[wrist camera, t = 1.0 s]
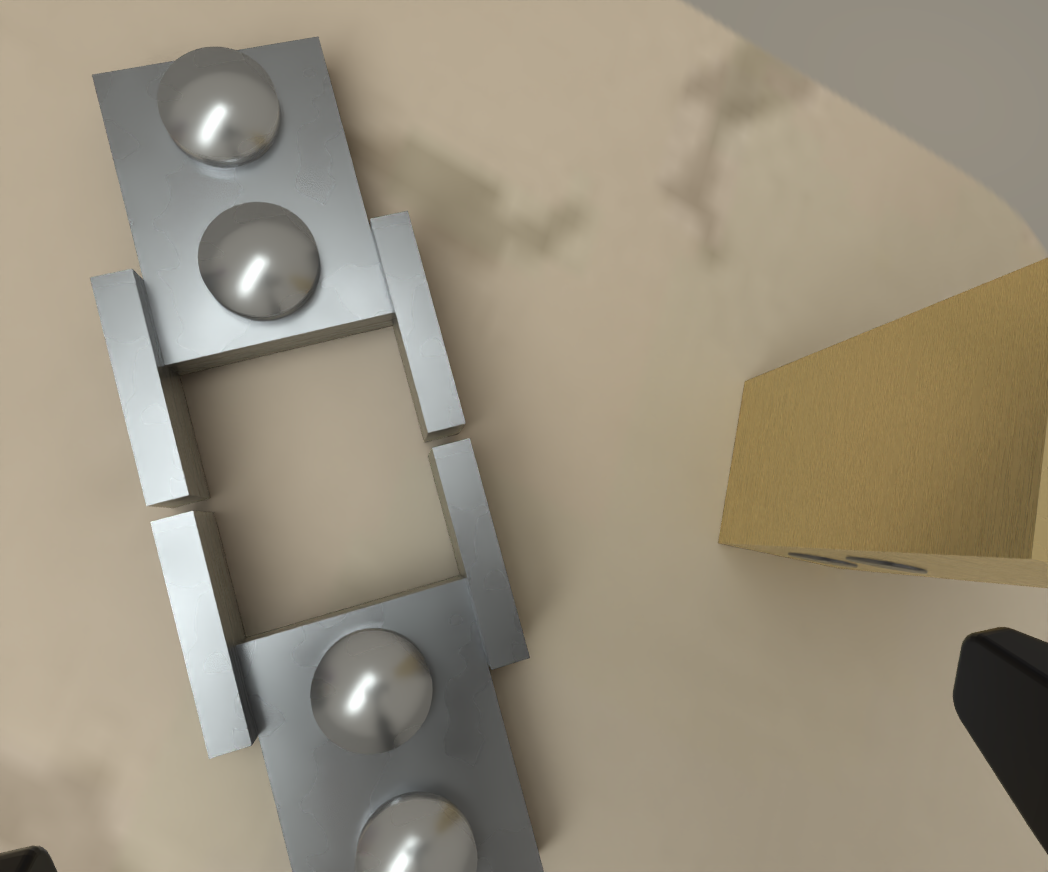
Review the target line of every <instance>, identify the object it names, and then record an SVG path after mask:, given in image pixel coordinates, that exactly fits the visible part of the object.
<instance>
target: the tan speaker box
mask: <svg viewBox="0 0 1048 872" xmlns="http://www.w3.org/2000/svg"><path fill="white" fill-rule="evenodd" d="M718 543H720V544H725V545H730V546H735V547H740V548H744V549H749V550H754V551H759V552H764V553H768V554H773V555H778V556H783V557H788V558H792V559H797V560H802V561H807V562H812V563H817V564H821V565H826V566H831V567H836V568H841V569H850V570H861V571H871V572H882V573H892V574H903V575H914V576H924V577H935V578H945V579H956V580H967V581H977V582H988V583H998V584H1009V585H1020V586H1030V587H1041V588H1048V258H1046V259H1043V260H1041V261H1039V262H1036V263H1034V264H1031V265H1029V266H1026V267H1024V268H1021V269H1019V270H1017V271H1014V272H1012V273H1009V274H1007V275H1004V276H1002V277H999V278H997V279H994V280H992V281H990V282H987V283H985V284H982V285H980V286H977V287H975V288H972V289H970V290H968V291H965V292H963V293H960V294H958V295H955V296H953V297H950V298H948V299H946V300H943V301H941V302H938V303H936V304H933V305H931V306H928V307H926V308H924V309H921V310H919V311H916V312H914V313H911V314H909V315H906V316H904V317H902V318H899V319H897V320H894V321H892V322H889V323H887V324H884V325H882V326H880V327H877V328H875V329H872V330H870V331H867V332H865V333H862V334H860V335H858V336H855V337H853V338H850V339H848V340H845V341H843V342H840V343H838V344H836V345H833V346H831V347H828V348H826V349H823V350H821V351H818V352H816V353H814V354H811V355H809V356H806V357H804V358H801V359H799V360H796V361H794V362H791V363H789V364H787V365H784V366H782V367H779V368H777V369H774V370H772V371H769V372H767V373H765V374H762V375H760V376H757V377H755V378H752V379H750V380H747V381H745V384H744V390H743V396H742V402H741V408H740V414H739V420H738V426H737V432H736V438H735V444H734V450H733V456H732V462H731V468H730V474H729V481H728V487H727V493H726V499H725V505H724V511H723V517H722V523H721V529H720V535H719V541H718Z"/></svg>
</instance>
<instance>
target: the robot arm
mask: <svg viewBox="0 0 1048 872" xmlns="http://www.w3.org/2000/svg"><path fill="white" fill-rule="evenodd" d="M953 702H954V706H955V709H956V712H957V714H958V716H959V718H960V720H961V722H962V723H963V725H964V726H965V728H966V729H967V731H968V732H969V734H970V736H971V737H972V739H973V740H974V742H975V743H976V745H977V747H978V748H979V750H980V751H981V753H982V754H983V756H984V757H985V759H986V761H987V762H988V764H989V765H990V767H991V768H992V770H993V771H994V773H995V775H996V776H997V778H998V779H999V781H1000V782H1001V784H1002V786H1003V787H1004V789H1005V790H1006V792H1007V793H1008V795H1009V796H1010V798H1011V800H1012V801H1013V803H1014V804H1015V806H1016V807H1017V809H1018V810H1019V812H1020V814H1021V815H1022V817H1023V818H1024V820H1025V821H1026V823H1027V824H1028V826H1029V828H1030V829H1031V831H1032V832H1033V834H1034V835H1035V837H1036V838H1037V839H1038V841H1039V842H1040V844H1041V845H1042V847H1043V848H1044V850H1045V851H1046V853H1047V854H1048V643H1047V642H1044V641H1042V640H1039V639H1037V638H1034V637H1032V636H1029V635H1026V634H1024V633H1021V632H1019V631H1016V630H1014V629H1011V628H1006V627H997V628H993V629H988V630H984V631H980V632H975V633H971V634H970V635H968V636H967V637H966V638H965V639H964V641H963V643H962V646H961V651H960V656H959V662H958V667H957V672H956V678H955V683H954V689H953ZM0 872H57V870H56V868H55V866H54V863H53V861H52V859H51V857H50V855H49V854H48V852H47V850H45V849H44V848H43V847H41V846H29V847H25V848H21V849H16V850H12V851H7V852H3V853H0Z"/></svg>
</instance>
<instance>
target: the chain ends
mask: <svg viewBox="0 0 1048 872" xmlns="http://www.w3.org/2000/svg"><path fill="white" fill-rule="evenodd" d="M92 77H93V81H94V85H95V89H96V93H97V97H98V101H99V105H100V109H101V113H102V117H103V121H104V125H105V129H106V133H107V137H108V140H109V144H110V148H111V152H112V156H113V160H114V164H115V168H116V172H117V176H118V180H119V184H120V188H121V192H122V196H123V200H124V204H125V208H126V212H127V216H128V220H129V224H130V228H131V232H132V236H133V240H134V244H135V248H136V252H137V256H138V260H139V264H140V268H141V272H142V276H143V279H142V278H141V277H140V276H139V275H138V274H137V273H136V272H135V271H134V270H133V269H129V270H124V271H119V272H114V273H110V274H105V275H100V276H95V277H91V278H90V280H91V284H92V288H93V292H94V296H95V300H96V304H97V308H98V312H99V316H100V320H101V324H102V328H103V332H104V336H105V340H106V344H107V348H108V352H109V357H110V361H111V365H112V369H113V373H114V377H115V381H116V385H117V389H118V393H119V397H120V401H121V405H122V409H123V413H124V417H125V421H126V425H127V429H128V433H129V437H130V441H131V445H132V449H133V453H134V457H135V462H136V466H137V470H138V474H139V478H140V482H141V486H142V490H143V494H144V498H145V502H146V506H154V507H166V508H175V507H179V506H183V505H187V504H190V503H194V502H198V501H202V500H206V499H210V495H209V491H208V487H207V483H206V479H205V475H204V471H203V467H202V463H201V459H200V455H199V451H198V447H197V443H196V439H195V435H194V431H193V427H192V423H191V419H190V415H189V411H188V407H187V404H186V400H185V396H184V392H183V388H182V384H181V380H180V376H179V375H183V374H188V373H192V372H196V371H200V370H205V369H209V368H213V367H217V366H222V365H226V364H230V363H235V362H239V361H243V360H247V359H252V358H256V357H260V356H264V355H269V354H273V353H277V352H282V351H286V350H290V349H294V348H299V347H303V346H307V345H311V344H316V343H320V342H324V341H329V340H333V339H337V338H341V337H346V336H350V335H354V334H358V333H363V332H367V331H371V330H375V329H380V328H384V327H388V326H393V328H394V332H395V336H396V339H397V343H398V347H399V351H400V354H401V358H402V362H403V365H404V369H405V373H406V377H407V380H408V384H409V388H410V391H411V395H412V399H413V402H414V406H415V410H416V414H417V417H418V421H419V425H420V428H421V432H422V436H423V440H424V442H428V441H432V440H435V439H439V438H443V437H447V436H451V435H455V434H458V433H459V432H460V430H461V429H462V428H463V426H464V425H465V419H464V415H463V412H462V408H461V404H460V401H459V397H458V393H457V390H456V386H455V382H454V379H453V375H452V371H451V368H450V364H449V360H448V357H447V353H446V349H445V346H444V342H443V338H442V335H441V331H440V327H439V324H438V320H437V316H436V313H435V309H434V305H433V302H432V298H431V294H430V291H429V287H428V283H427V280H426V276H425V272H424V269H423V265H422V261H421V258H420V254H419V250H418V247H417V243H416V240H415V236H414V232H413V229H412V225H411V221H410V218H409V214H408V211H405V212H400V213H395V214H390V215H386V216H381V217H376V218H371V219H370V223H371V230H370V226H369V222H368V219H367V215H366V211H365V207H364V204H363V200H362V196H361V193H360V189H359V185H358V182H357V178H356V174H355V170H354V167H353V163H352V159H351V156H350V152H349V148H348V144H347V141H346V137H345V133H344V130H343V126H342V122H341V119H340V115H339V111H338V107H337V104H336V100H335V96H334V93H333V89H332V85H331V81H330V78H329V74H328V70H327V67H326V63H325V59H324V56H323V52H322V48H321V44H320V41H319V37H312V38H307V39H301V40H295V41H289V42H283V43H277V44H271V45H265V46H259V47H253V48H247V49H242V50H233V49H229V48H224V47H205V48H200V49H196V50H193V51H191V52H188V53H186V54H184V55H183V56H181V57H180V58H178V59H177V60H176V61H171V62H165V63H159V64H153V65H147V66H141V67H135V68H129V69H123V70H117V71H112V72H106V73H100V74H94V75H92ZM428 458H429V462H430V466H431V469H432V473H433V477H434V480H435V484H436V488H437V491H438V495H439V499H440V503H441V506H442V510H443V514H444V517H445V521H446V525H447V529H448V532H449V536H450V540H451V543H452V547H453V551H454V555H455V558H456V562H457V566H458V569H459V573H460V575H459V576H456V577H452V578H449V579H445V580H442V581H439V582H435V583H432V584H428V585H425V586H422V587H418V588H415V589H411V590H408V591H404V592H401V593H398V594H394V595H391V596H387V597H384V598H380V599H377V600H374V601H370V602H367V603H363V604H360V605H356V606H353V607H350V608H346V609H343V610H339V611H336V612H333V613H329V614H326V615H322V616H319V617H315V618H312V619H309V620H305V621H302V622H298V623H295V624H291V625H288V626H285V627H281V628H278V629H274V630H271V631H267V632H264V633H261V634H257V635H254V636H250V637H247V638H246V637H245V633H244V629H243V625H242V621H241V617H240V613H239V609H238V605H237V602H236V598H235V594H234V590H233V586H232V582H231V578H230V574H229V570H228V566H227V562H226V558H225V554H224V550H223V546H222V542H221V538H220V534H219V530H218V526H217V522H216V518H215V514H214V512H202V511H190V512H186V513H183V514H179V515H175V516H171V517H167V518H164V519H160V520H156V521H152V522H151V526H152V530H153V534H154V538H155V542H156V546H157V550H158V554H159V558H160V563H161V567H162V571H163V575H164V579H165V583H166V587H167V591H168V595H169V599H170V603H171V607H172V611H173V615H174V619H175V623H176V627H177V631H178V635H179V639H180V643H181V647H182V651H183V655H184V659H185V663H186V668H187V672H188V676H189V680H190V684H191V688H192V692H193V696H194V700H195V704H196V708H197V712H198V716H199V720H200V724H201V728H202V732H203V736H204V740H205V744H206V748H207V752H208V756H209V759H210V758H213V757H217V756H220V755H223V754H226V753H229V752H232V751H236V750H239V749H242V748H245V747H248V746H251V745H252V744H253V743H254V741H255V739H256V738H257V736H258V737H259V741H260V745H261V749H262V753H263V757H264V760H265V764H266V768H267V772H268V776H269V780H270V784H271V788H272V792H273V796H274V800H275V804H276V808H277V812H278V816H279V820H280V824H281V828H282V832H283V836H284V840H285V844H286V848H287V852H288V856H289V860H290V864H291V868H292V872H544V871H543V867H542V863H541V860H540V856H539V852H538V848H537V845H536V841H535V837H534V834H533V830H532V826H531V822H530V819H529V815H528V811H527V808H526V804H525V800H524V797H523V793H522V789H521V785H520V782H519V778H518V774H517V771H516V767H515V763H514V759H513V756H512V752H511V748H510V745H509V741H508V737H507V734H506V730H505V726H504V722H503V719H502V715H501V711H500V708H499V704H498V700H497V697H496V693H495V689H494V685H493V682H492V678H491V674H490V671H489V667H488V665H489V666H490V668H491V669H492V670H493V669H496V668H499V667H502V666H505V665H509V664H512V663H515V662H518V661H521V660H524V659H528V658H530V657H529V653H528V650H527V646H526V642H525V639H524V635H523V631H522V628H521V624H520V620H519V617H518V613H517V609H516V606H515V602H514V598H513V595H512V591H511V587H510V584H509V580H508V576H507V573H506V569H505V565H504V562H503V558H502V554H501V551H500V547H499V543H498V540H497V536H496V532H495V529H494V525H493V521H492V518H491V514H490V510H489V507H488V503H487V499H486V496H485V492H484V488H483V485H482V481H481V477H480V474H479V470H478V466H477V463H476V459H475V456H474V452H473V448H472V445H471V441H470V438H468V439H464V440H460V441H457V442H453V443H449V444H445V445H441V446H438V447H434V448H432V449H431V451H430V453H429V455H428Z"/></svg>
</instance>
